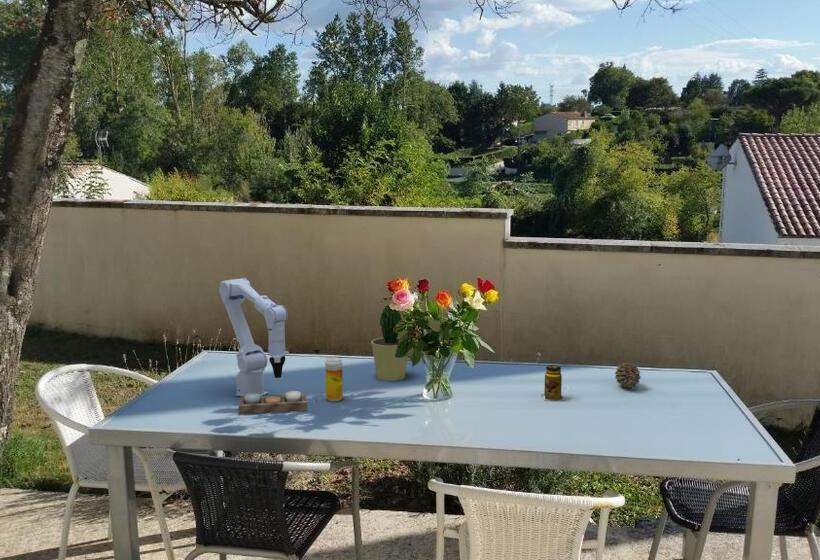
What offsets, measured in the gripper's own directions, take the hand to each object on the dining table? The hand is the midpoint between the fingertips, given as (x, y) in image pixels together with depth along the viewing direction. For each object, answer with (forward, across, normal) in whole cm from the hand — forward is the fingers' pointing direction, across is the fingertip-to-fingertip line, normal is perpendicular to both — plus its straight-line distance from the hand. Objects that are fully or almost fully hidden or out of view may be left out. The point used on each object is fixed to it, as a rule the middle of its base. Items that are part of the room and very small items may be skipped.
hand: (277, 377), depth 271 cm
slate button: (+7, -6, +9) cm, 13 cm away
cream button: (+7, -6, -5) cm, 11 cm away
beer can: (+10, 0, -20) cm, 22 cm away
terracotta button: (+9, -6, +2) cm, 11 cm away
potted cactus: (+10, +26, -45) cm, 52 cm away
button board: (+9, -6, +2) cm, 11 cm away
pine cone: (+10, -2, -132) cm, 132 cm away
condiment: (+10, -12, -99) cm, 100 cm away
